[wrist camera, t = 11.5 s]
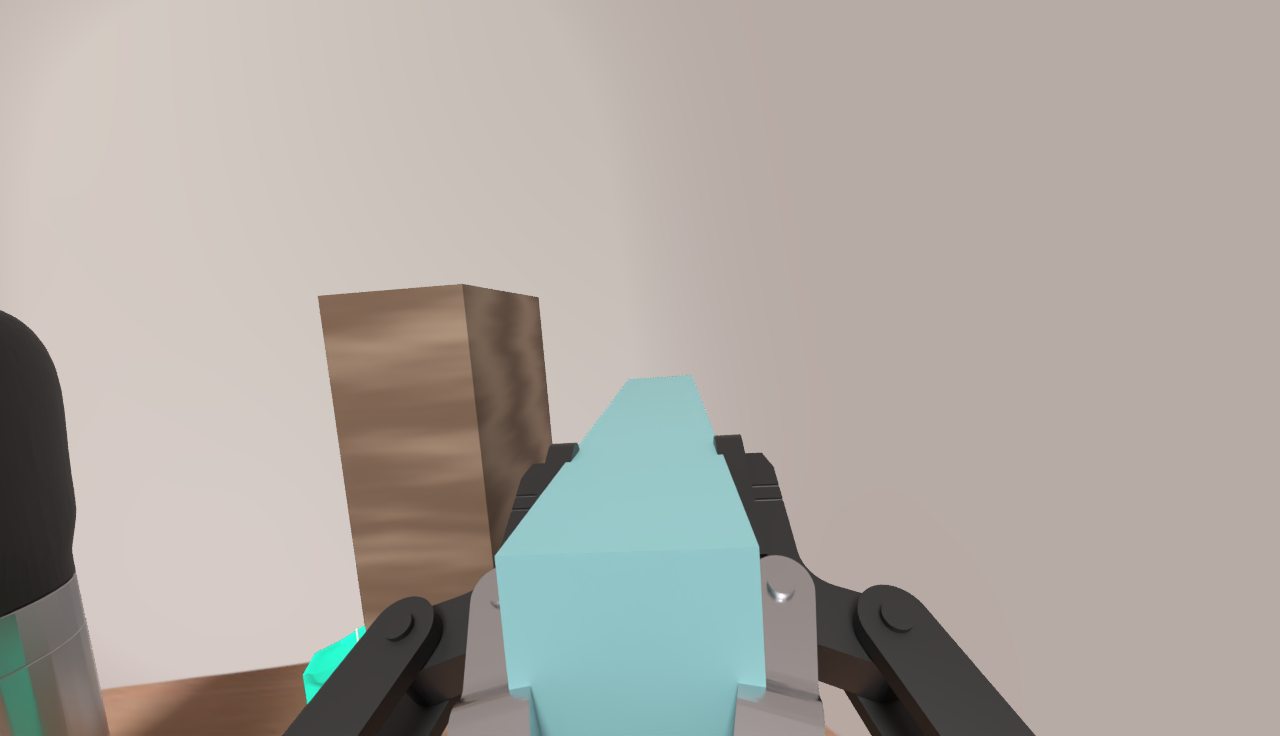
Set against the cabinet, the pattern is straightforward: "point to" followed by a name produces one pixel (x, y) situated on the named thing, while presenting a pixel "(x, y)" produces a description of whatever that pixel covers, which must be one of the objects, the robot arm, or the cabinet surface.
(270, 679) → the cabinet surface
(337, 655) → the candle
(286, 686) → the cabinet surface
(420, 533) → the stand
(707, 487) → the batten
